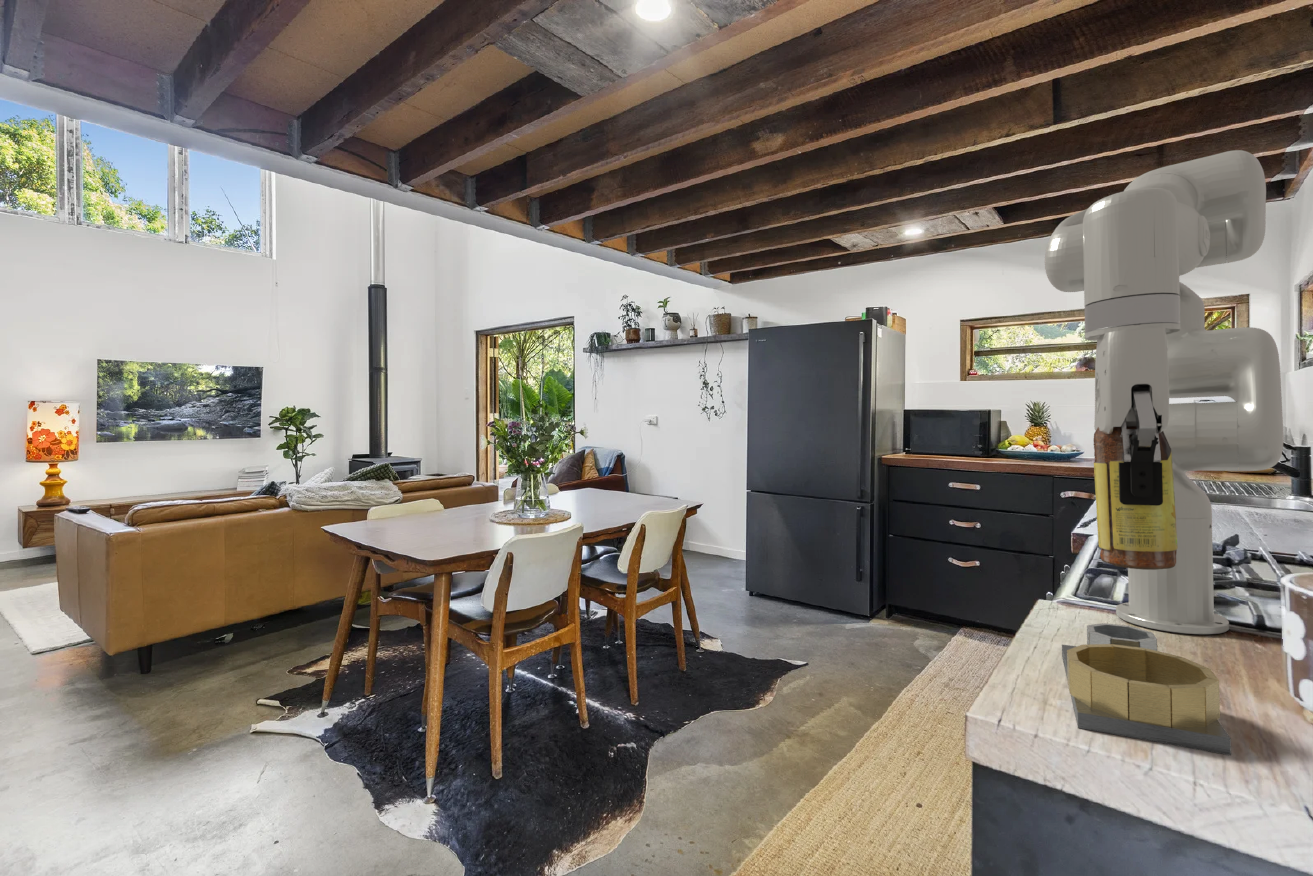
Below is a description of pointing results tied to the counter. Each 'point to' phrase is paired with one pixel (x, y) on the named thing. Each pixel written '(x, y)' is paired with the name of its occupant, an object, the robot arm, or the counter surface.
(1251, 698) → the counter surface
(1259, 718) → the counter surface
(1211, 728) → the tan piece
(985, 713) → the counter surface
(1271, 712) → the counter surface
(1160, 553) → the sauce bottle
